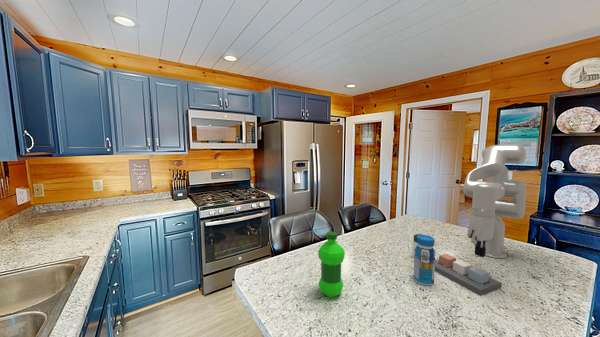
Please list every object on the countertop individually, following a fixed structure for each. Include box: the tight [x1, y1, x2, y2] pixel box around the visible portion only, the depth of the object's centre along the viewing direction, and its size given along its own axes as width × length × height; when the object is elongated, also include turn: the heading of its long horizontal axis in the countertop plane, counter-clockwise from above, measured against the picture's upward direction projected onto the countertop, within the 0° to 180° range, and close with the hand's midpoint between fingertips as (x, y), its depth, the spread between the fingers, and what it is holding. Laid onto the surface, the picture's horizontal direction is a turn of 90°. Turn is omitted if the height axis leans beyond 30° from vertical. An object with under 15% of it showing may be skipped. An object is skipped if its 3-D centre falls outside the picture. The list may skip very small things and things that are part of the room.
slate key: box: [468, 266, 490, 285], centre depth 99 cm, size 5×5×4 cm
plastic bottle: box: [317, 231, 346, 298], centre depth 93 cm, size 10×10×25 cm
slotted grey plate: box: [434, 259, 503, 296], centre depth 106 cm, size 14×24×2 cm, turn 21°
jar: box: [411, 233, 423, 259], centre depth 123 cm, size 9×8×12 cm
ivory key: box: [453, 259, 473, 276], centre depth 105 cm, size 5×5×4 cm
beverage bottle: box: [412, 234, 437, 286], centre depth 102 cm, size 8×8×20 cm
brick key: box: [438, 253, 457, 269], centre depth 112 cm, size 5×5×4 cm
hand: (479, 255), depth 98 cm, fingers closed
